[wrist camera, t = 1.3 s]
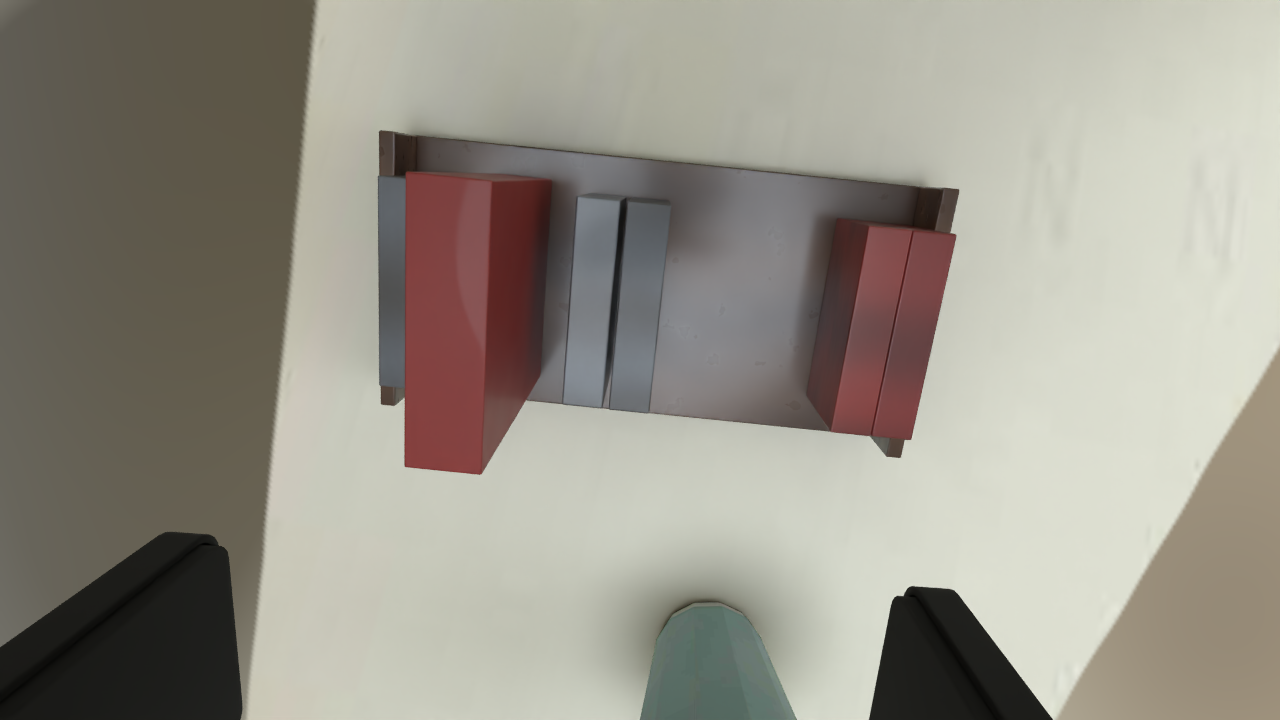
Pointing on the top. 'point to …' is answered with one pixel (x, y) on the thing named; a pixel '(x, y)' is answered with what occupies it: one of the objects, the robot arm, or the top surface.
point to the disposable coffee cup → (712, 670)
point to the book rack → (708, 287)
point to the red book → (471, 311)
